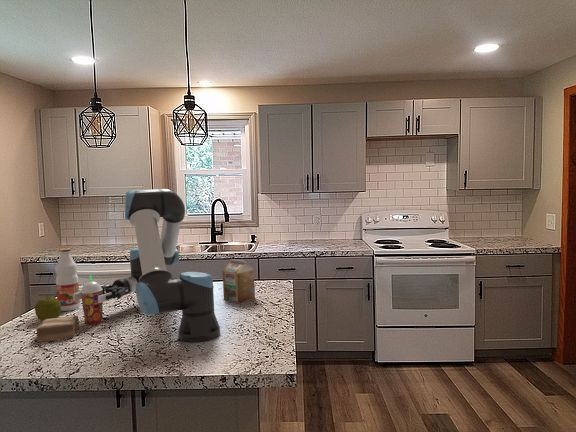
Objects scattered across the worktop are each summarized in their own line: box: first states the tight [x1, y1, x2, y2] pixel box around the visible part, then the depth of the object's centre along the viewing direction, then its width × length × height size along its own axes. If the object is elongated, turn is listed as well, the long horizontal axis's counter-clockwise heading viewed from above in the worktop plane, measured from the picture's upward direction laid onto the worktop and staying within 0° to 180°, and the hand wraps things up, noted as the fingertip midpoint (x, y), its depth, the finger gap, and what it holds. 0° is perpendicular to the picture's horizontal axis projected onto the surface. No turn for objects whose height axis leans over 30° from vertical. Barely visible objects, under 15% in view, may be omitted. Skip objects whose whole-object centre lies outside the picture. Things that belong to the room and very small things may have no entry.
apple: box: [34, 296, 62, 322], centre depth 189 cm, size 10×10×11 cm
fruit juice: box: [54, 247, 81, 312], centre depth 206 cm, size 9×9×28 cm
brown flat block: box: [36, 315, 80, 343], centre depth 170 cm, size 12×12×5 cm
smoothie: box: [80, 274, 104, 326], centre depth 184 cm, size 8×8×20 cm
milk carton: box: [222, 258, 256, 304], centre depth 213 cm, size 11×11×19 cm
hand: (86, 298), depth 181 cm, fingers open, 13 cm apart
